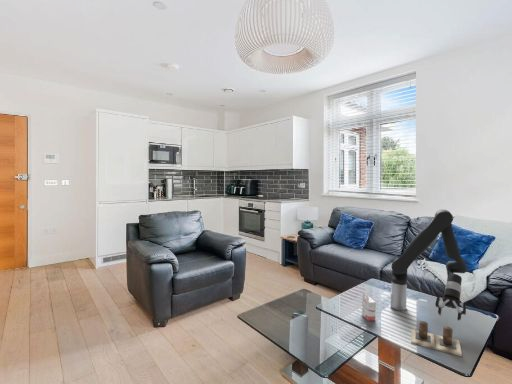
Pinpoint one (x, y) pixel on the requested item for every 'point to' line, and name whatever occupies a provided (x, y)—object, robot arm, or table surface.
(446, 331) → the walnut pin
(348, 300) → the table surface
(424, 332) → the pin
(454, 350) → the board
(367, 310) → the ink cartridge box
